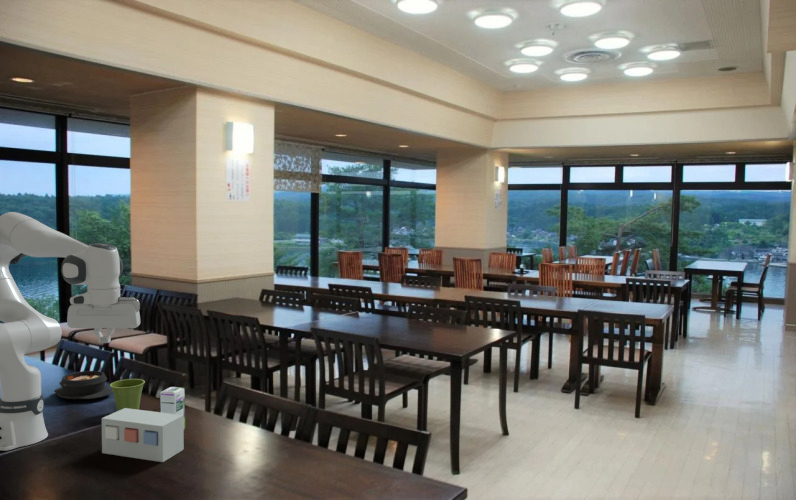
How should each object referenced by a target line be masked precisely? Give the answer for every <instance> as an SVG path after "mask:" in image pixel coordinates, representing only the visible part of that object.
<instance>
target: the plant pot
mask: <svg viewBox="0 0 796 500" xmlns="http://www.w3.org/2000/svg"><path fill="white" fill-rule="evenodd" d="M145 383H146V381H145V380H144V379H141V378H129V379H128V378H126V379H120V380H115V381H114V382H111V383H110V384H109V388H111V389H112V391H113V398H114V402H115V408H116V412H117V411H119V410H122V409H124V408H129V409H137V410H140V404H141V398H142V391H143V387H144V385H145Z"/></svg>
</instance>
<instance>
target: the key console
mask: <svg viewBox="0 0 796 500" xmlns="http://www.w3.org/2000/svg"><path fill="white" fill-rule="evenodd" d="M108 425H112V426H119V439H117V440H115V439H108V438H105V427H106V426H108ZM127 428H134V429H138V439H139V441H137V442H136V443H135V442H128V441H124V430H125V429H127ZM147 430H149V431H156V432H158V444H157V445H149V444H144V432H145V431H147ZM184 431H185V429H184V415H177V414H169V413H161V411H160V412H159V411H153V410H143V409H139V410H137V409H129V408H124V409H122V410H119V411H117V410H116V411H115V412H112V413H110V414H109V415H105V416H104V417H102V418H101V453H102V454H106V455H114V456H119V457H126V458H132V459H133V458H134V459H138V460H139V459H140V460H144V461H145V460H146V461H153V462H159V463H164V462H166V461H167V460H169V459H171V458H172V457H173V456H175V455H177V454H179V453H181V452H183V450H184V447H185V445H184V443H185V442H184V439H185V438H184V436H185V433H184Z"/></svg>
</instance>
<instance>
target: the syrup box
mask: <svg viewBox="0 0 796 500" xmlns="http://www.w3.org/2000/svg"><path fill="white" fill-rule="evenodd" d="M159 394H160V399H159V401H160V412H161V413H169V414H177V415H184V430H185V429H186V410H185V409H186V404H185V403H186V401H185V388H184V387H179V386H178V387H177V386H170V387H167V388H166V389H164V390H162V391H160V393H159Z"/></svg>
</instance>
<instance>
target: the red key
mask: <svg viewBox="0 0 796 500" xmlns="http://www.w3.org/2000/svg"><path fill="white" fill-rule="evenodd" d="M124 441H128V442H135V443H136V442H137V441H139V439H138V429H134V428H127V429H125V430H124Z"/></svg>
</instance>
